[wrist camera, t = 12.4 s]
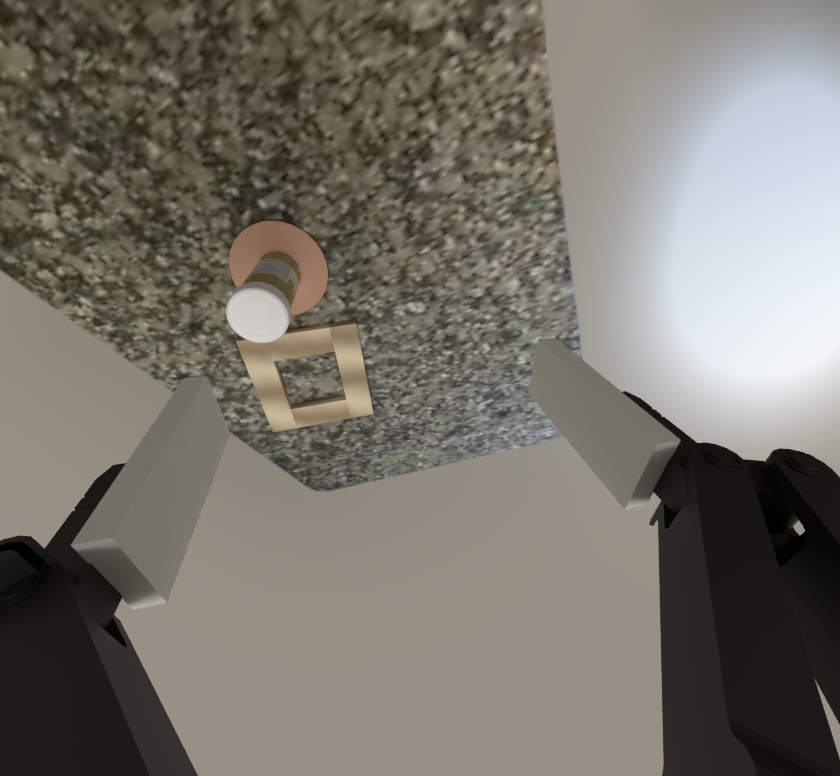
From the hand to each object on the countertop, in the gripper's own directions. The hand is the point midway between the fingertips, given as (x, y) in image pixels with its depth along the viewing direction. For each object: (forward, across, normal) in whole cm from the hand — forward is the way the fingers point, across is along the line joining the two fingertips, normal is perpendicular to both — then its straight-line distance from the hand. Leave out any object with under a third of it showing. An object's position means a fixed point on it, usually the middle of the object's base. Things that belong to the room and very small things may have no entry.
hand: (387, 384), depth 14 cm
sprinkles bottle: (+29, -8, -2) cm, 30 cm away
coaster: (+30, -8, -2) cm, 31 cm away
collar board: (+30, -7, -16) cm, 35 cm away
